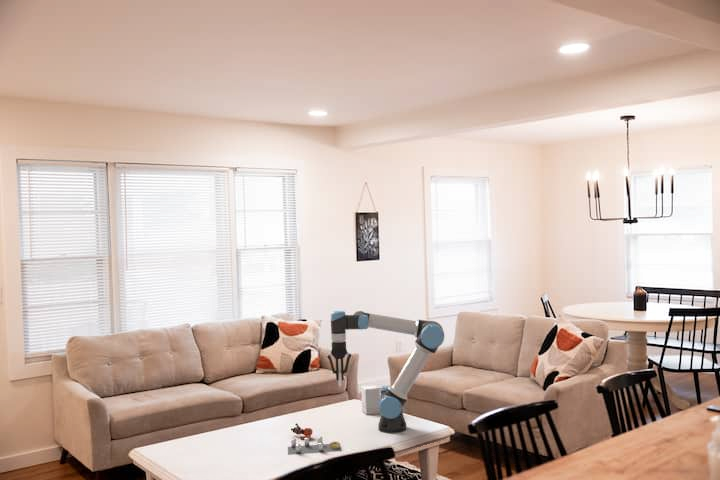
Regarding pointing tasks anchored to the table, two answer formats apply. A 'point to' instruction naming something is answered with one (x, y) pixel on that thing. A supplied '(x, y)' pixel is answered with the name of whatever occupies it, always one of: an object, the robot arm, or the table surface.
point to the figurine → (302, 432)
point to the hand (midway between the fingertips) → (340, 386)
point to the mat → (313, 449)
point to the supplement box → (370, 399)
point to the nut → (334, 445)
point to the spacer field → (306, 444)
